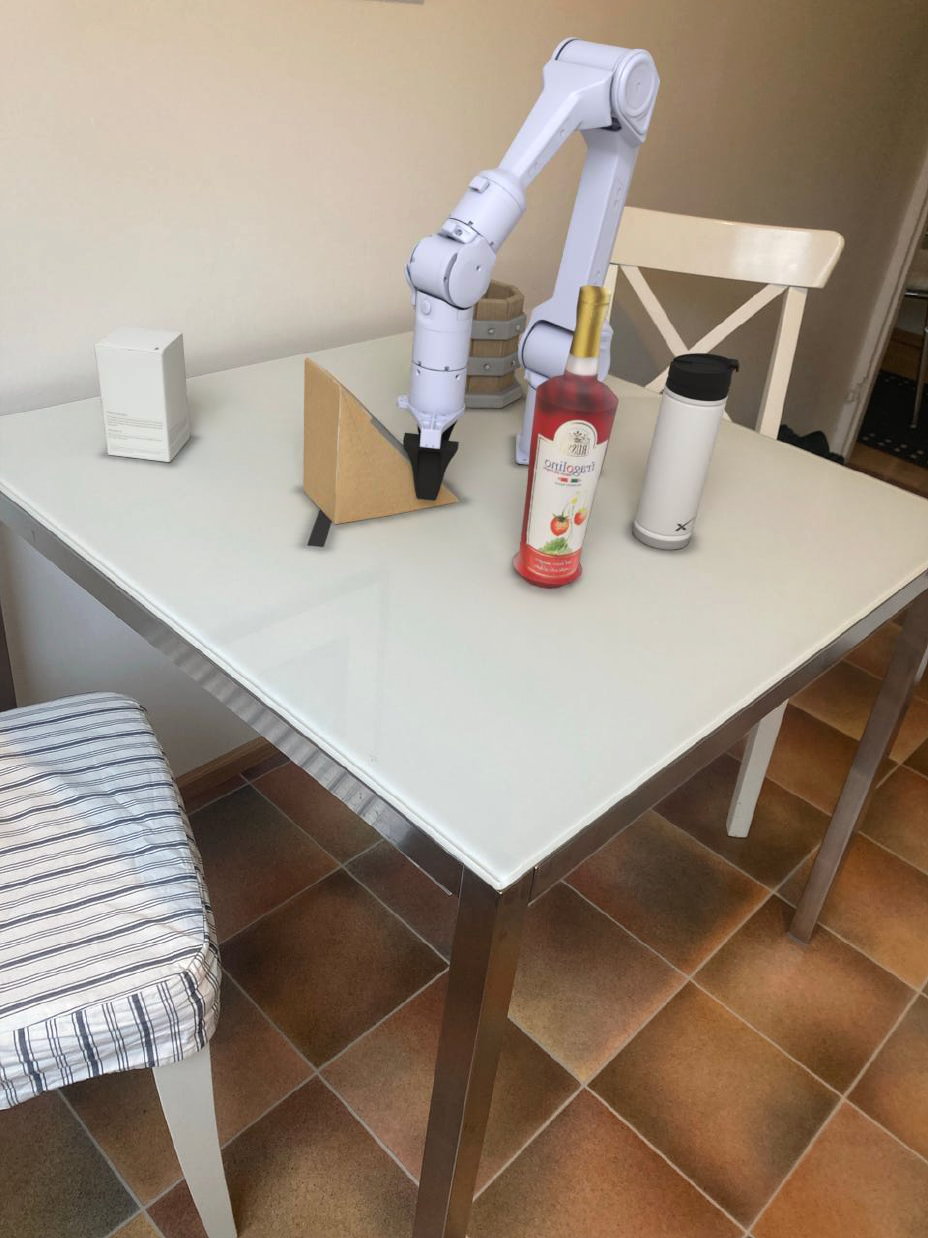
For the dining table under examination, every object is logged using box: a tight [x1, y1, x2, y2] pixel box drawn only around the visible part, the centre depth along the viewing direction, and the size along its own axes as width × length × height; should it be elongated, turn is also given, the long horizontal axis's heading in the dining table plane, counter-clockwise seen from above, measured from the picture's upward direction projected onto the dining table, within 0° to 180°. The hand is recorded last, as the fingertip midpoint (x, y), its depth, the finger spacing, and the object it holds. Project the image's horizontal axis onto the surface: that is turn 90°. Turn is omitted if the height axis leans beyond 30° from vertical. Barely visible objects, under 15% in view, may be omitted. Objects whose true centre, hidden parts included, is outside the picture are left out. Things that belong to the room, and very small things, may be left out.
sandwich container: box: [302, 357, 461, 525], centre depth 104 cm, size 9×15×15 cm, turn 121°
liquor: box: [512, 286, 619, 589], centre depth 90 cm, size 7×7×28 cm
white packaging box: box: [93, 324, 191, 463], centre depth 109 cm, size 7×7×13 cm
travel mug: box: [631, 352, 740, 551], centre depth 101 cm, size 6×7×20 cm
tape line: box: [307, 508, 333, 548], centre depth 108 cm, size 2×24×1 cm, turn 178°
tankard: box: [464, 278, 528, 409], centre depth 135 cm, size 20×13×15 cm, turn 13°
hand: (428, 482), depth 108 cm, fingers open, 7 cm apart
